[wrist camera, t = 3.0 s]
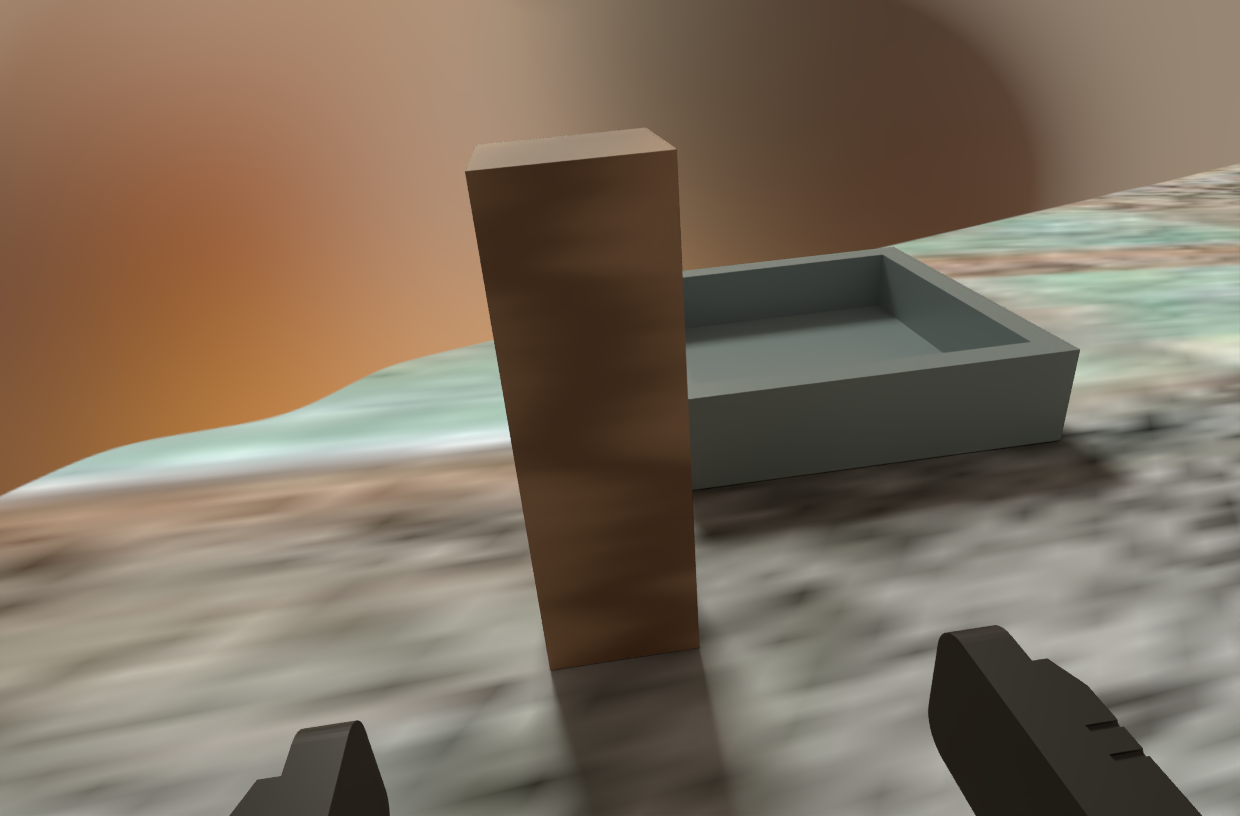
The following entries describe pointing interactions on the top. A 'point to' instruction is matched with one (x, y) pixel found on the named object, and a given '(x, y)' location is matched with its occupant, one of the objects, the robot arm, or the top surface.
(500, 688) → the top surface
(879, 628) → the top surface
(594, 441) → the walnut block
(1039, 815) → the robot arm
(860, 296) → the slate tray
